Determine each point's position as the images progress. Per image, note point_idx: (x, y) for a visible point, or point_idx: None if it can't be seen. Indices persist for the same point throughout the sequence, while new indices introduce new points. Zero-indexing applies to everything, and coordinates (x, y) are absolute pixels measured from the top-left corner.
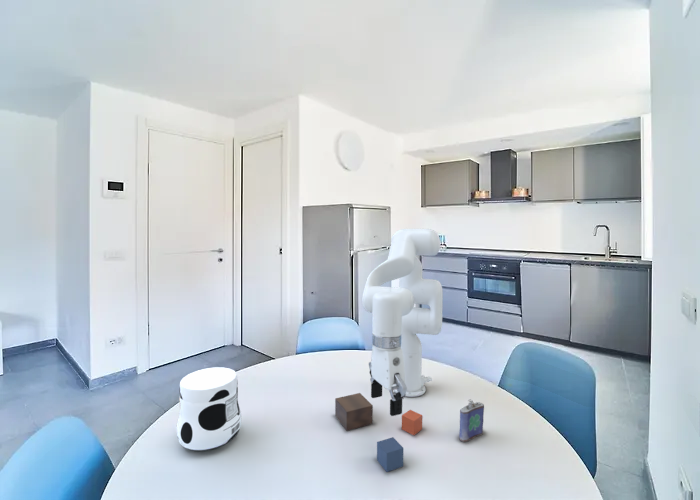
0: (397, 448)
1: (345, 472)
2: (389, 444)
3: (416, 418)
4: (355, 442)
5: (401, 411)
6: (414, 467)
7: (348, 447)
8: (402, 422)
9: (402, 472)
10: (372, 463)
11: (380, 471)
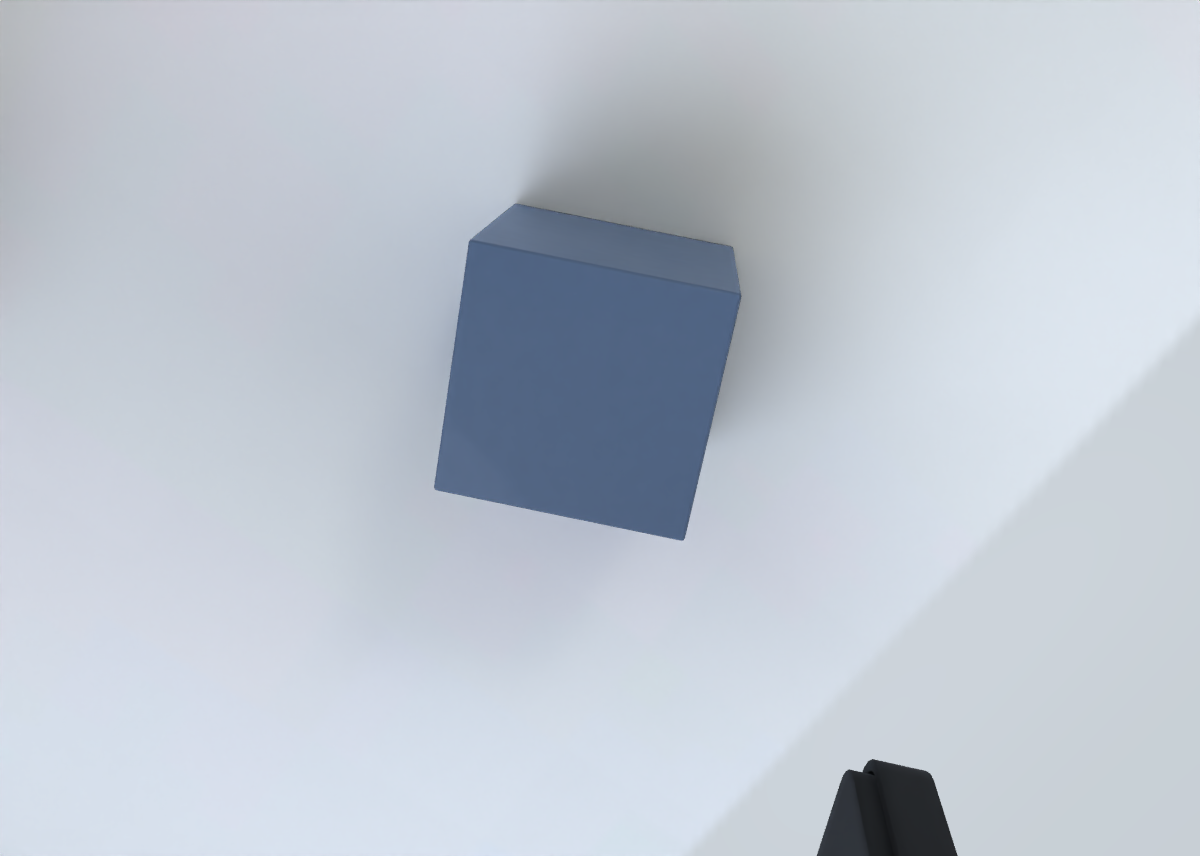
0: (699, 371)
1: (456, 738)
2: (570, 398)
3: None
4: (115, 408)
5: (929, 807)
6: (825, 148)
7: (156, 517)
8: None
9: (792, 319)
10: None
11: None
